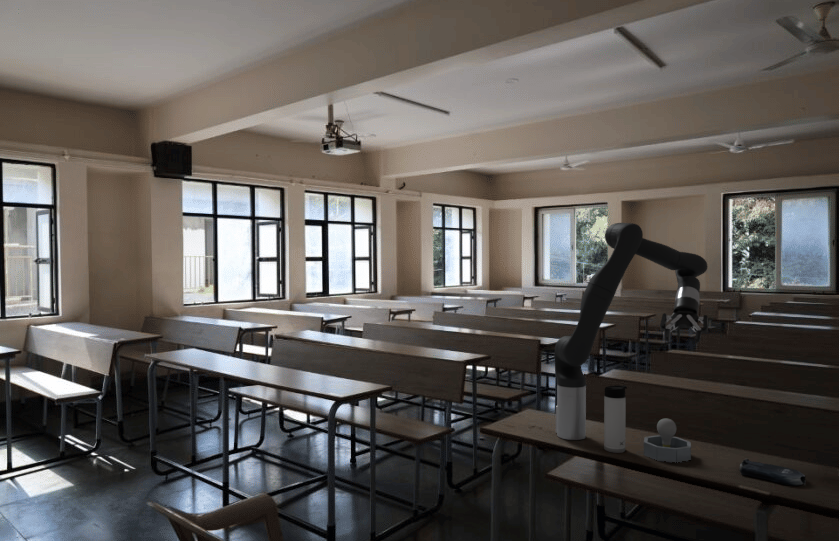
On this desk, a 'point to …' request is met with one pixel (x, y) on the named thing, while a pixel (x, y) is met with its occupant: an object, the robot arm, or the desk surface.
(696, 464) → the desk surface
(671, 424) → the light bulb
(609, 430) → the travel mug
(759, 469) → the electronic device
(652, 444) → the bowl
